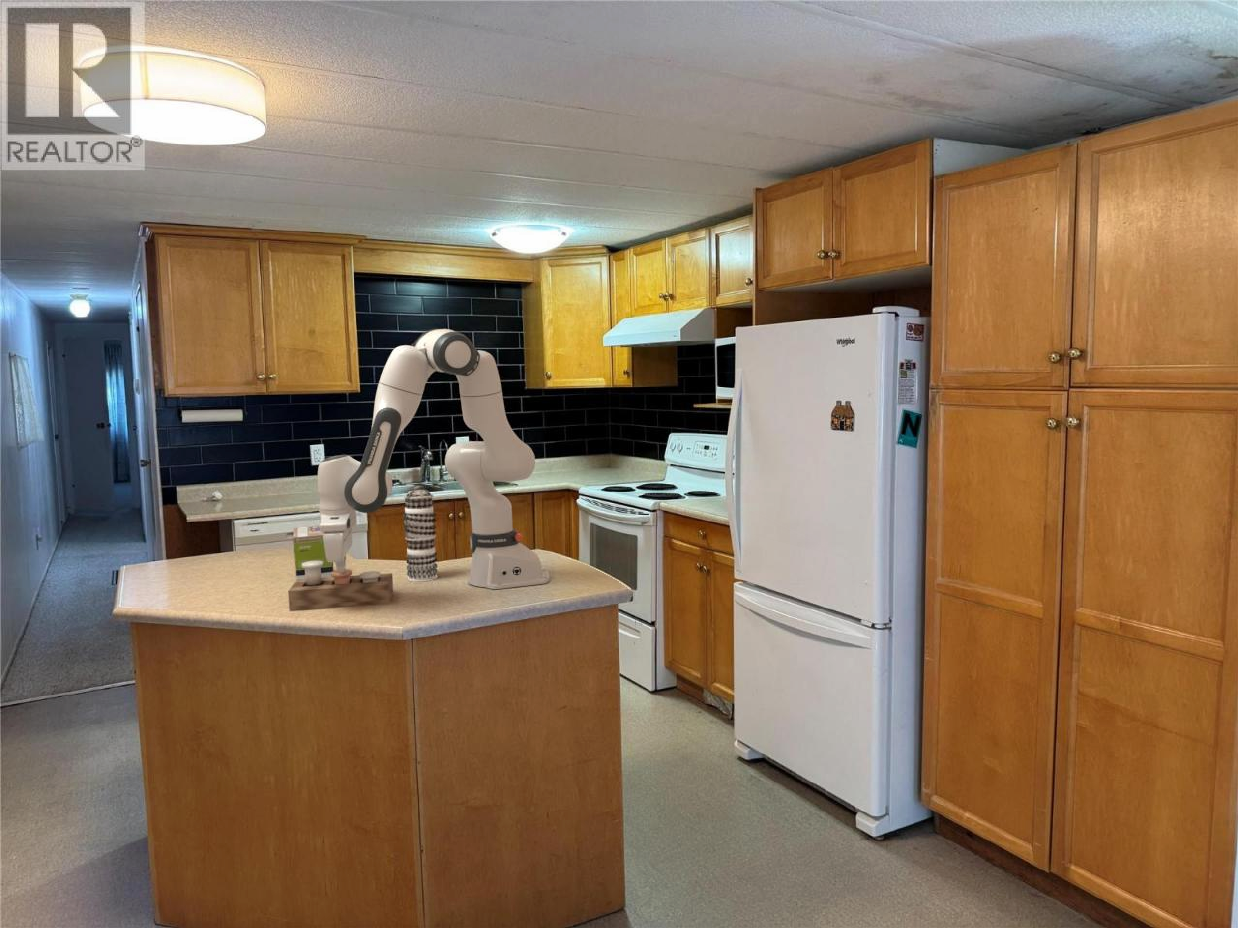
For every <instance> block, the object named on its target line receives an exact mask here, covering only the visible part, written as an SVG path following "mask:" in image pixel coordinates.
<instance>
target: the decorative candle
mask: <svg viewBox="0 0 1238 928" xmlns="http://www.w3.org/2000/svg"><path fill="white" fill-rule="evenodd" d="M433 497H434V495H433V494H431V492H430V490H428V489H414V490H410V491H408V492H407V494H406V495H405V496H404V497H403V498H404V501H405V502H404V504H405V507H404V511H403V514H402V518H403V519H405V520H404V521H403V525H404V527H403V530H404V532H405V534H404V537H405V540H406V543H407V544H406V545H407V548H406V551H407V552H406V555H405V558H406V564H407V566H406V570H407V572H406V575H407V581H409V582H413V583H414V582H415V583H416V582H417V583H419V582H428V581H433V580H436V579H438V574H437V573H438V571H439V570H438V569H437V568H438V563H436V562H437V561H438V558H437V555H438V553H437V552H436V545H435V538H436V537H437V535H436V534H437V532H436V528H437V526H436V525H434V523H435V522H437V519H436V516H437V514H436V513H435V512H434V505H433V503H434V502H433Z"/></svg>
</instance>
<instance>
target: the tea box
mask: <svg viewBox="0 0 1238 928" xmlns="http://www.w3.org/2000/svg"><path fill="white" fill-rule="evenodd" d="M292 542H293V543H292V544H293V555H294V556H293V557H294V566H295V567H294V568H295V578H296V581H297V580H298V579H305V568H302V563H304V562H307V561H323V566H321V578H323V577H332V576H331V572H332V571H334V562H328V561H327V559H326V554H325V548H324V540H323V532H321V531H320V524H319V525H308V526H301V527H293V535H292ZM296 581H295V582H296Z"/></svg>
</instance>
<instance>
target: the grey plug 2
mask: <svg viewBox="0 0 1238 928" xmlns="http://www.w3.org/2000/svg"><path fill="white" fill-rule="evenodd" d="M380 574H381V572H380V571H376V570H375V571H365V572H362V573H359V574H358V575H359V576H360V579H363V583H367V582H378V578H379V577H380V576H381V575H380Z"/></svg>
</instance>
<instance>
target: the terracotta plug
mask: <svg viewBox="0 0 1238 928" xmlns="http://www.w3.org/2000/svg"><path fill="white" fill-rule="evenodd" d="M331 576H332V577H334V584H335V585H336V584H350V576H353V570H352V569H347V568H346V569H345V571H344V572H343V573H337V569H336V570H333V571H332V572H331Z"/></svg>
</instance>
